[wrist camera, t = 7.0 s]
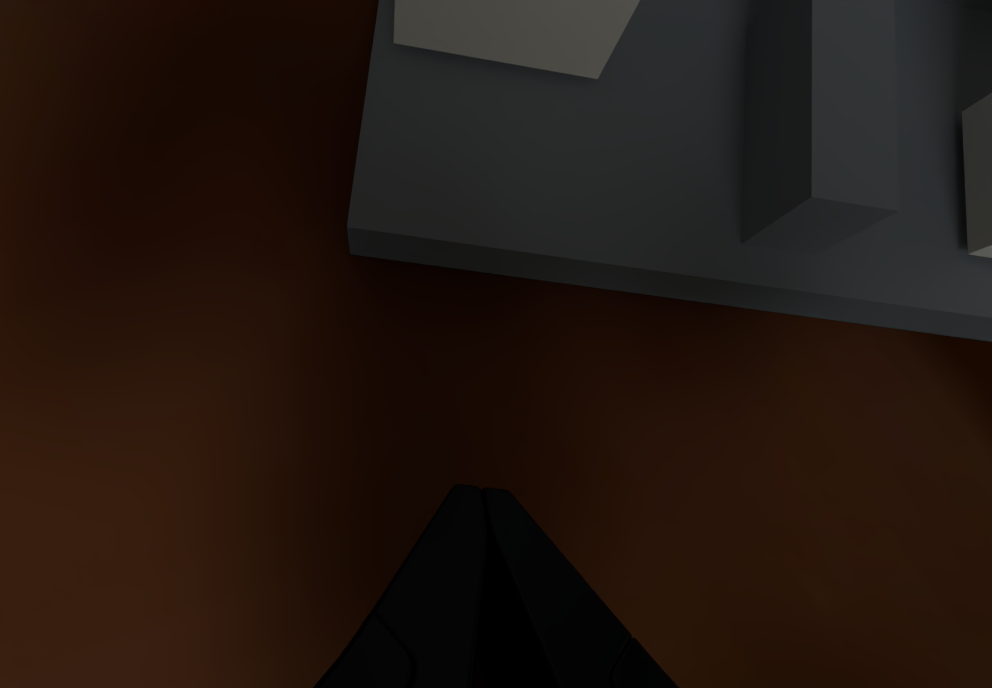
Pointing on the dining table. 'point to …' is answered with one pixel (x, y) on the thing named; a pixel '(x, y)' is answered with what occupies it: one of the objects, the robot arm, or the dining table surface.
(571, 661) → the robot arm
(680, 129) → the switch panel
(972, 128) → the button
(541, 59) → the button
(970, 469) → the dining table surface
